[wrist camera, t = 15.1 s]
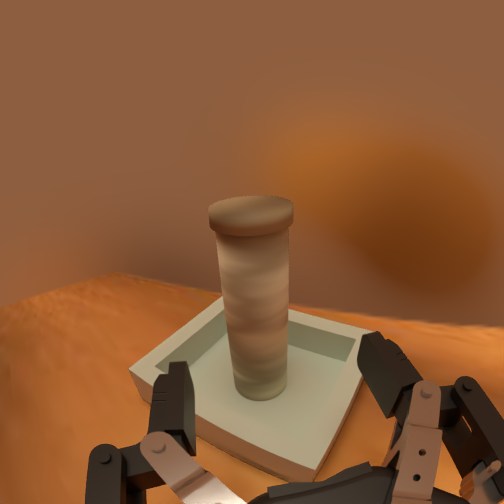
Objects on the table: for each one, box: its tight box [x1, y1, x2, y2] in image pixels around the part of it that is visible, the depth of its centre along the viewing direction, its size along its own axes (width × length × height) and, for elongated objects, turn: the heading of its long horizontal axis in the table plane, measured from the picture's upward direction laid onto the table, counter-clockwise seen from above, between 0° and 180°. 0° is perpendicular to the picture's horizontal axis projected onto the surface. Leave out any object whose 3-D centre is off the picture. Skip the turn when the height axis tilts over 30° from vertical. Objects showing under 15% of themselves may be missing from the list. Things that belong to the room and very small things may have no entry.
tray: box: [128, 296, 374, 483], centre depth 23 cm, size 16×14×4 cm
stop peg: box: [208, 195, 293, 401], centre depth 20 cm, size 5×5×15 cm
